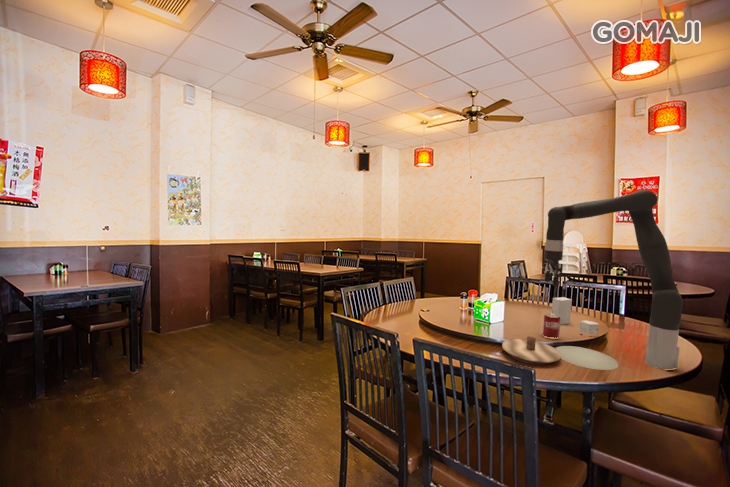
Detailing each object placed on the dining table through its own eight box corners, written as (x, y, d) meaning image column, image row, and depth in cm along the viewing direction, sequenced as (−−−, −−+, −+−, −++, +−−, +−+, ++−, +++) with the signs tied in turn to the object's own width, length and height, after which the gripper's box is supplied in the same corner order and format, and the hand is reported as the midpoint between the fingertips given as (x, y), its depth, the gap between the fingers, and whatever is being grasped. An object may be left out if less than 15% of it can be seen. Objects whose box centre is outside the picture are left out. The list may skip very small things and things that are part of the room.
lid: (545, 342, 157) (546, 330, 157) (571, 364, 134) (573, 350, 134) (495, 339, 159) (496, 327, 158) (513, 360, 136) (514, 346, 136)
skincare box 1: (562, 321, 198) (564, 296, 197) (570, 324, 193) (572, 299, 191) (550, 321, 197) (552, 297, 195) (558, 325, 191) (560, 299, 189)
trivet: (596, 348, 158) (596, 347, 158) (632, 372, 134) (632, 371, 134) (543, 345, 160) (543, 344, 160) (569, 369, 136) (570, 367, 136)
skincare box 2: (588, 338, 172) (589, 324, 171) (578, 333, 178) (579, 320, 177) (597, 337, 173) (599, 323, 172) (587, 333, 179) (589, 320, 178)
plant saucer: (511, 344, 162) (512, 337, 161) (560, 356, 149) (560, 349, 148) (498, 358, 146) (498, 351, 145) (551, 373, 133) (552, 365, 132)
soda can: (561, 341, 166) (563, 318, 165) (545, 340, 167) (546, 316, 166) (555, 336, 173) (557, 313, 172) (540, 335, 174) (542, 312, 173)
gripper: (570, 251, 150) (567, 287, 152) (554, 248, 164) (552, 280, 166) (552, 251, 151) (549, 286, 152) (539, 247, 165) (536, 280, 166)
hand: (551, 283), depth 159 cm, fingers open, 8 cm apart
